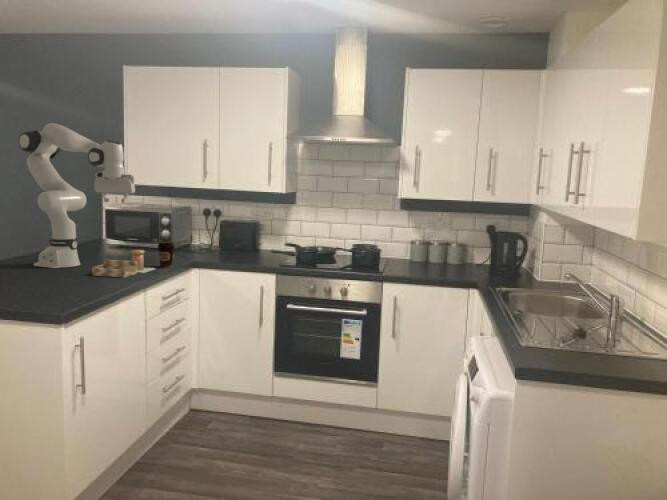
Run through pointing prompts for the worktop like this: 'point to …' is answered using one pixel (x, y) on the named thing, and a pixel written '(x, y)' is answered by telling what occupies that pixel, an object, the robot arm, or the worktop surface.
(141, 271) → the mat
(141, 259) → the pot
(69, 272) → the worktop surface
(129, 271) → the wooden compartment tray
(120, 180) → the robot arm
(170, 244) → the dark brown jar
